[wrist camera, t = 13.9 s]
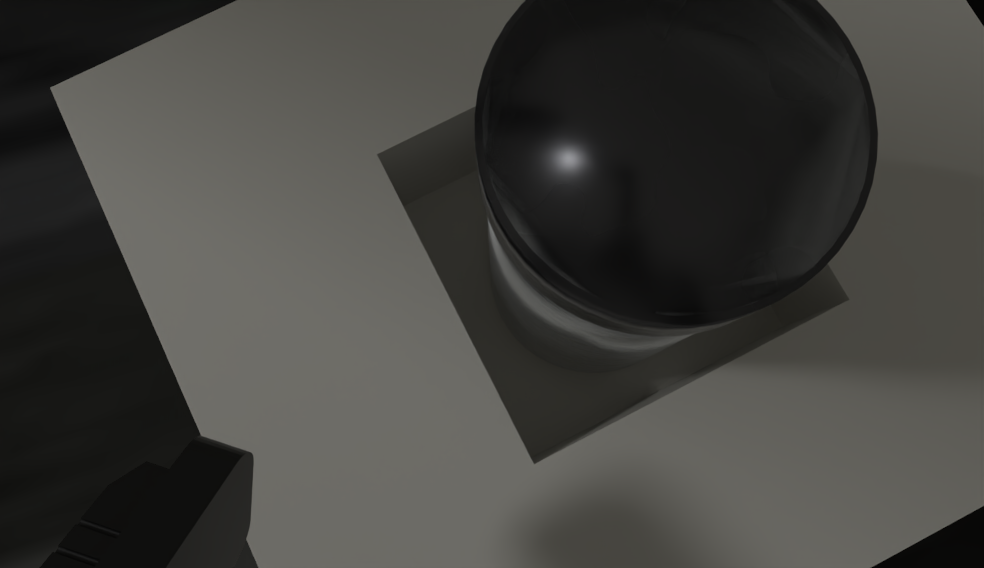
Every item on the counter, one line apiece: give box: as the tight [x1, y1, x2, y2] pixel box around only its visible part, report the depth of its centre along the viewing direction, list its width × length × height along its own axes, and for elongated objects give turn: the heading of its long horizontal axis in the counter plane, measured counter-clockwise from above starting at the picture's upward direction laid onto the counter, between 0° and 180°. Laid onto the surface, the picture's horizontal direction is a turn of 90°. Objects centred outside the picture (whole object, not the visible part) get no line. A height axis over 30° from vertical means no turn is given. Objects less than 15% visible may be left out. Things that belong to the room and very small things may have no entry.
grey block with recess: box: [50, 0, 984, 568], centre depth 20 cm, size 16×18×6 cm
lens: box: [475, 0, 878, 373], centre depth 16 cm, size 5×5×10 cm
